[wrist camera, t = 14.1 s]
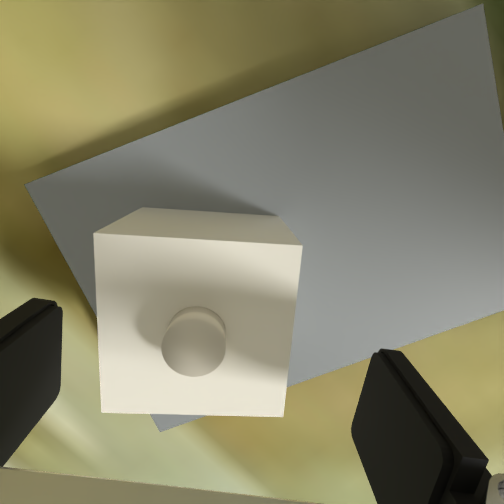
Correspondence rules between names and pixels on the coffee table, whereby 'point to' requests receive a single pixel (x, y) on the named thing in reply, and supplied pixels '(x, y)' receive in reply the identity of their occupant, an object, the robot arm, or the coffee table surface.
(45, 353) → the robot arm
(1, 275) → the coffee table surface
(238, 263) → the white knobbed cube
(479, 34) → the board
